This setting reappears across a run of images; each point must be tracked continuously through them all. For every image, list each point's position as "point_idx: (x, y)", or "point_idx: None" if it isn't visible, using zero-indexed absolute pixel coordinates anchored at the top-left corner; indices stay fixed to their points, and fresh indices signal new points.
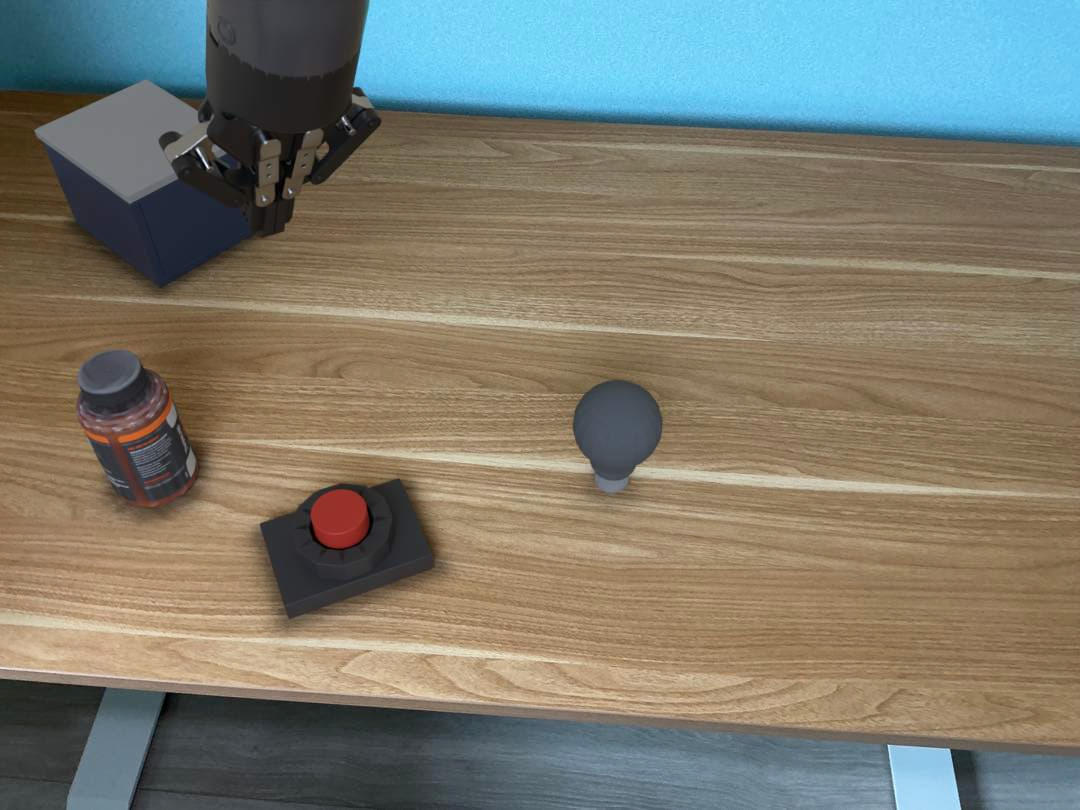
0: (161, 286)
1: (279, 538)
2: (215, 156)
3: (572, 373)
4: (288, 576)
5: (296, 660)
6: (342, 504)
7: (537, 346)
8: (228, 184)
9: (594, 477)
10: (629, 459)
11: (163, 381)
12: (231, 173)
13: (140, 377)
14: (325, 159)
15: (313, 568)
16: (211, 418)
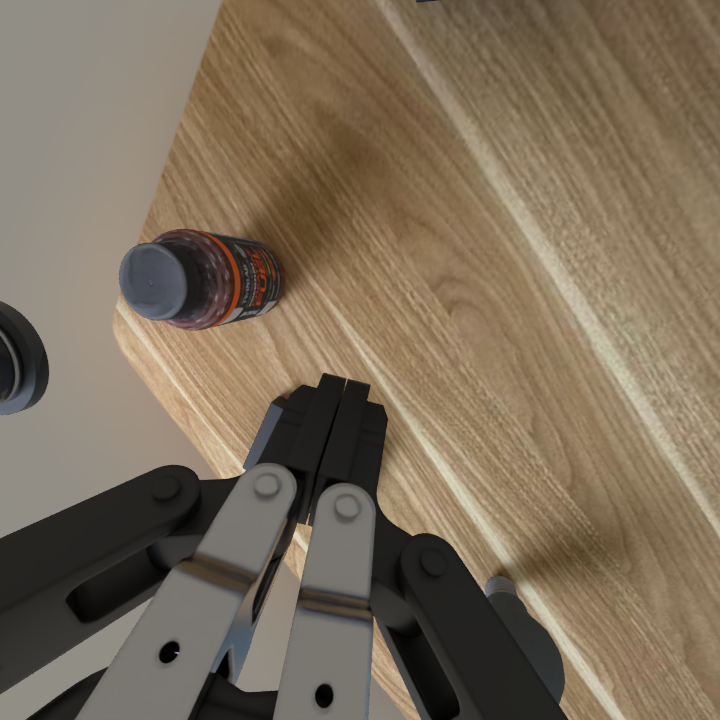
0: (418, 1)
1: (273, 424)
2: (102, 556)
3: (605, 494)
4: (258, 453)
5: None
6: None
7: (621, 445)
8: (102, 626)
9: (491, 581)
10: None
11: (227, 297)
12: (169, 547)
13: (180, 313)
14: (413, 689)
15: None
16: (325, 254)
